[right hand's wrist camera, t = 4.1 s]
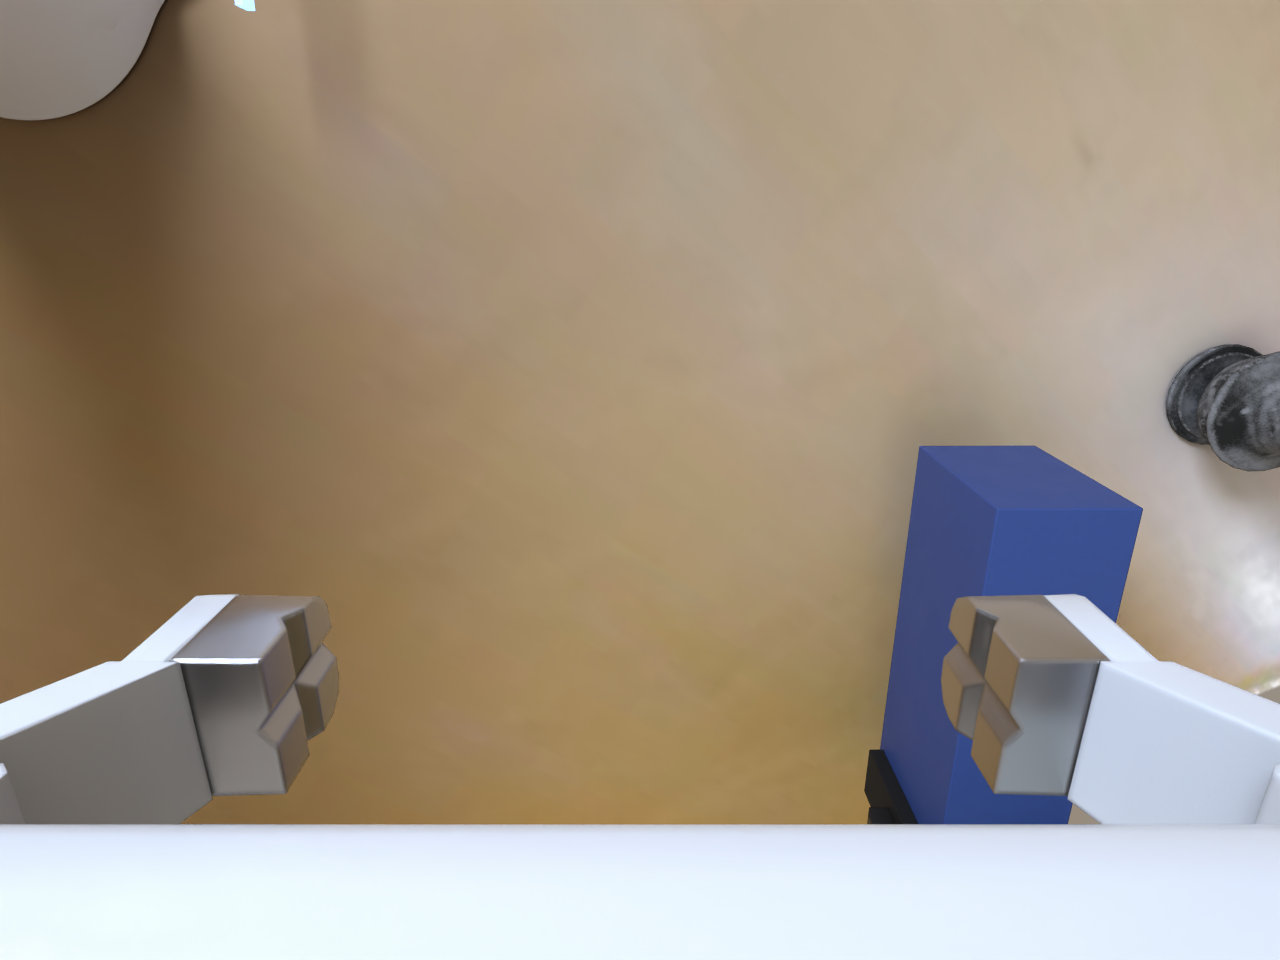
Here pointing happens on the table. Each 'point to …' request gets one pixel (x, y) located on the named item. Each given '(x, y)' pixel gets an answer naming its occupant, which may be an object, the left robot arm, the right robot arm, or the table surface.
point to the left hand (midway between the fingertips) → (931, 770)
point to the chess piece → (1230, 405)
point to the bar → (989, 566)
